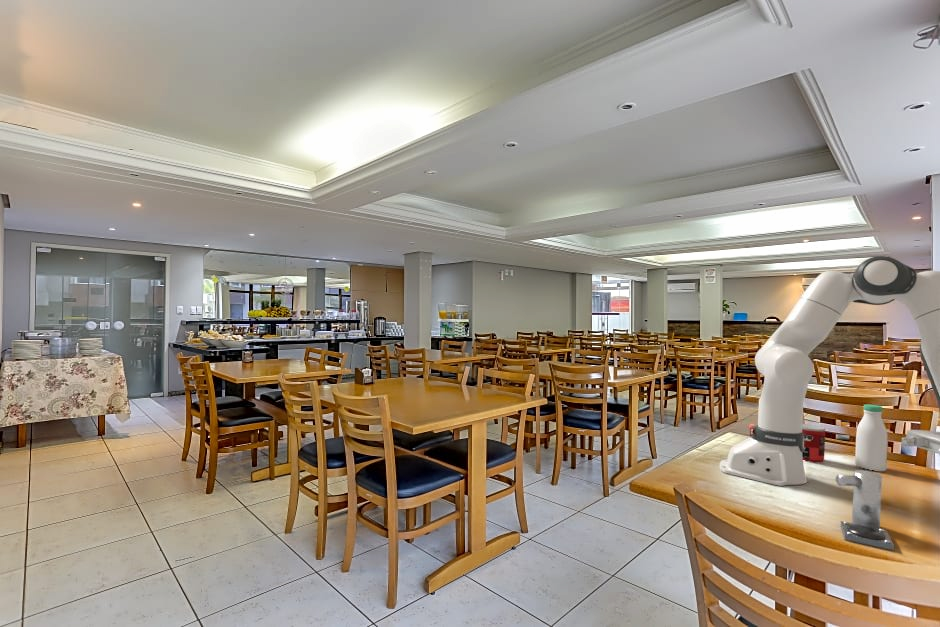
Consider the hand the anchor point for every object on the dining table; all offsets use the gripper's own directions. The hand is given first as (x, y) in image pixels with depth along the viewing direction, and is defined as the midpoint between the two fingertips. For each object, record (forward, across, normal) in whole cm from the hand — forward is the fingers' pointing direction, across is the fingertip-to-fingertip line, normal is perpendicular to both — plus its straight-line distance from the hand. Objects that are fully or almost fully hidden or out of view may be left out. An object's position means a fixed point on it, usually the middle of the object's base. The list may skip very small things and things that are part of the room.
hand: (922, 447), depth 110 cm
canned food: (-10, -50, +18) cm, 54 cm away
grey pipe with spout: (+14, 0, +18) cm, 23 cm away
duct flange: (+18, +6, +18) cm, 26 cm away
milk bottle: (-24, -42, +19) cm, 52 cm away
